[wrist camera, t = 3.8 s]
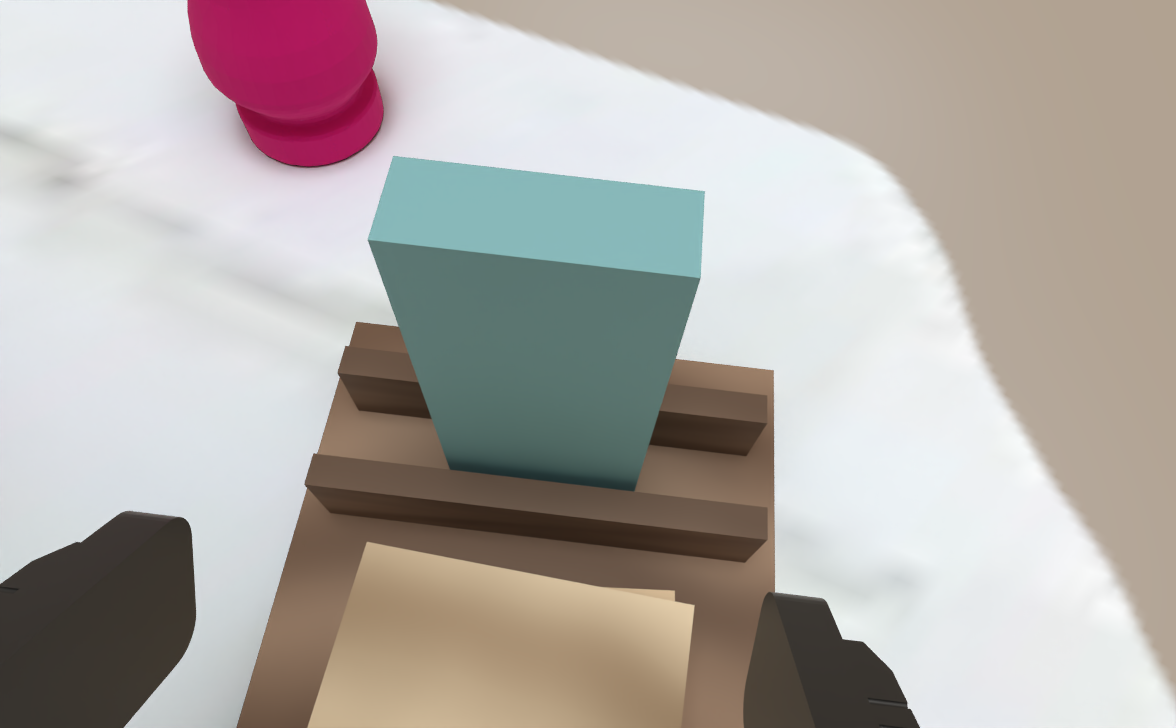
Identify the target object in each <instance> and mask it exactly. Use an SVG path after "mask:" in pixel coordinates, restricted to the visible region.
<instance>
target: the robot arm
mask: <svg viewBox="0 0 1176 728" xmlns="http://www.w3.org/2000/svg"><path fill="white" fill-rule="evenodd" d="M195 620H196V602H195V584H194V566H193V548H192V533H191V528H190V525H189V523H188V522H187V520H186V519H184V518H181V517H174V516H166V515H158V514H150V513H142V512H134V511H125V512H122V513H120V514H119V515H117V516H116V517H114V518H113V519H112V520H110V521H109V522H108V523H106V524H105V525H104V526H102V527H101V528H100V529H98V530H97V531H96V532H94V533H93V534H92V535H90V536H89V537H88V538H86V539H85V540H84V541H83V542H81V543H80V542H75V543H73V544H71V545H68V546H66V547H64V548H62V549H59V550H57V551H55V552H52V553H50V554H48V555H45V556H43V557H41V558H38V559H36V560H34V561H32V562H30V563H29V564H28V565H26V566H25V567H23V568H22V569H21V570H19V571H18V572H16V573H15V574H14V575H12V576H11V577H10V578H8V579H7V580H5V581H4V582H3V583H1V584H0V728H124V726H125V725H126V724H127V723H128V722H129V721H130V719H131V718H132V717H133V716H134V715H135V713H136V712H137V711H138V710H139V709H140V707H141V706H142V705H143V704H144V703H145V702H146V700H147V699H148V698H149V697H150V696H151V694H152V693H153V692H154V691H155V690H156V689H157V687H158V686H159V685H160V684H161V683H162V681H163V680H164V679H165V678H166V677H167V676H168V674H169V673H170V672H171V671H172V670H173V668H174V667H175V666H176V665H177V664H178V662H179V661H180V660H181V658H182V657H183V655H184V654H185V652H186V650H187V648H188V645H189V643H190V641H191V638H192V635H193V631H194V627H195ZM743 723H744V728H920V727H919V725H918V723H917V721H916V719H915V717H914V715H913V713H912V711H911V709H908V707H907V700H906V698H905V696H904V694H903V692H902V690H901V688H900V686H899V684H898V682H897V680H896V678H895V676H894V674H893V672H892V670H891V669H890V668H889V667H888V666H887V665H886V664H885V663H884V662H883V661H882V660H881V659H880V658H879V657H878V656H877V655H876V654H875V653H874V652H873V651H872V650H871V649H870V648H869V647H868V646H867V645H866V644H865V643H864V642H860V641H852V640H844V639H842V637H841V634H840V632H839V630H838V627H837V625H836V623H835V620H834V618H833V616H832V613H831V611H830V609H829V606H828V604H827V602H826V601H825V600H824V599H823V598H815V597H807V596H799V595H791V594H783V593H775V592H768V593H767V594H766V595H765V598H764V600H763V603H762V607H761V612H760V617H759V621H758V626H757V631H756V636H755V641H754V645H753V650H752V655H751V660H750V664H749V669H748V674H747V679H746V684H745V691H744V702H743Z"/></svg>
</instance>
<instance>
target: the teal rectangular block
mask: <svg viewBox="0 0 1176 728" xmlns="http://www.w3.org/2000/svg"><path fill="white" fill-rule="evenodd" d="M704 194H705V191H697V190H689V189H680V188H671V187H662V186H653V185H645V184H636V183H627V182H618V181H609V180H600V179H592V178H583V177H574V176H565V175H556V174H548V173H539V172H530V171H521V170H512V169H503V168H495V167H486V166H477V165H468V164H459V163H451V162H442V161H433V160H424V159H415V158H406V157H398V156H393V159H392V162H391V165H390V168H389V172H388V175H387V178H386V182H385V185H384V188H383V191H382V195H381V198H380V201H379V205H378V208H377V211H376V214H375V218H374V221H373V224H372V228H371V231H370V234H369V237H368V242H369V244H370V247H371V250H372V253H373V256H374V258H375V261H376V264H377V267H378V270H379V272H380V275H381V278H382V281H383V284H384V286H385V289H386V292H387V295H388V298H389V300H390V303H391V306H392V309H393V312H394V314H395V317H396V320H397V323H398V326H399V328H400V331H401V334H402V337H403V340H404V342H405V345H406V348H407V351H408V354H409V356H410V359H411V362H412V365H413V368H414V370H415V373H416V376H417V379H418V382H419V384H420V387H421V390H422V393H423V396H424V398H425V401H426V404H427V407H428V410H429V412H430V415H431V418H432V421H433V424H434V426H435V429H436V432H437V435H438V438H439V440H440V443H441V446H442V449H443V452H444V454H445V457H446V460H447V463H448V466H449V468H450V470H457V471H465V472H474V473H482V474H490V475H499V476H507V477H516V478H524V479H532V480H541V481H549V482H558V483H566V484H574V485H583V486H591V487H600V488H608V489H616V490H625V491H633V492H634V491H635V488H636V485H637V481H638V478H639V475H640V472H641V468H642V465H643V462H644V459H645V456H646V452H647V449H648V446H649V443H650V439H651V436H652V433H653V430H654V426H655V423H656V420H657V417H658V414H659V410H660V407H661V404H662V401H663V397H664V394H665V391H666V388H667V384H668V381H669V378H670V375H671V372H672V368H673V365H674V362H675V359H676V355H677V352H678V349H679V346H680V343H681V339H682V336H683V333H684V330H685V326H686V323H687V320H688V317H689V313H690V310H691V307H692V304H693V301H694V297H695V294H696V291H697V288H698V284H699V281H700V278H701V257H702V236H703V215H704Z"/></svg>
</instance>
